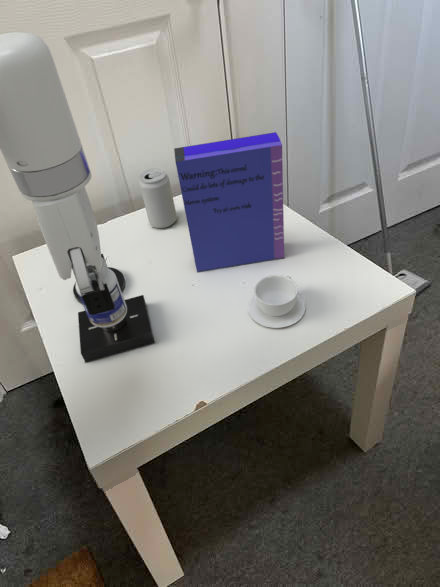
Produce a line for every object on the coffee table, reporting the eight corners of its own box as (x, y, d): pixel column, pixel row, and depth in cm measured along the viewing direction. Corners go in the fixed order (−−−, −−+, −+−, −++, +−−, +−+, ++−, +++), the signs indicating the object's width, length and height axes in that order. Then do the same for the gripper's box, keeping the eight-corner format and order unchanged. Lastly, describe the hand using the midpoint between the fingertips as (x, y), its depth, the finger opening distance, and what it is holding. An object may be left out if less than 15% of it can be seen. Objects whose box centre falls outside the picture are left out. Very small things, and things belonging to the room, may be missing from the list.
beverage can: (146, 219, 106) (133, 172, 97) (171, 210, 107) (161, 163, 99) (155, 233, 101) (142, 185, 93) (181, 224, 103) (172, 176, 94)
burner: (76, 312, 86) (72, 303, 84) (73, 278, 93) (70, 270, 92) (128, 298, 87) (125, 289, 86) (122, 266, 94) (119, 258, 93)
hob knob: (102, 334, 77) (92, 313, 74) (99, 317, 81) (90, 295, 77) (127, 327, 78) (119, 306, 74) (124, 310, 81) (116, 288, 77)
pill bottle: (88, 307, 64) (67, 257, 58) (124, 296, 65) (107, 247, 59) (91, 333, 60) (69, 284, 54) (130, 322, 61) (112, 272, 55)
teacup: (289, 337, 76) (289, 318, 72) (238, 317, 80) (235, 298, 77) (314, 299, 81) (315, 279, 78) (265, 282, 86) (264, 263, 83)
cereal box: (279, 243, 94) (276, 131, 77) (284, 258, 90) (282, 143, 74) (195, 257, 94) (173, 147, 77) (197, 272, 90) (175, 160, 74)
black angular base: (85, 362, 77) (80, 353, 75) (82, 321, 84) (77, 311, 82) (155, 343, 78) (151, 332, 76) (146, 304, 85) (143, 294, 83)
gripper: (19, 143, 53) (71, 262, 66) (8, 222, 41) (74, 351, 54) (84, 130, 54) (122, 250, 67) (91, 203, 42) (137, 334, 54)
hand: (100, 294), depth 60 cm, fingers closed on pill bottle, 5 cm apart
